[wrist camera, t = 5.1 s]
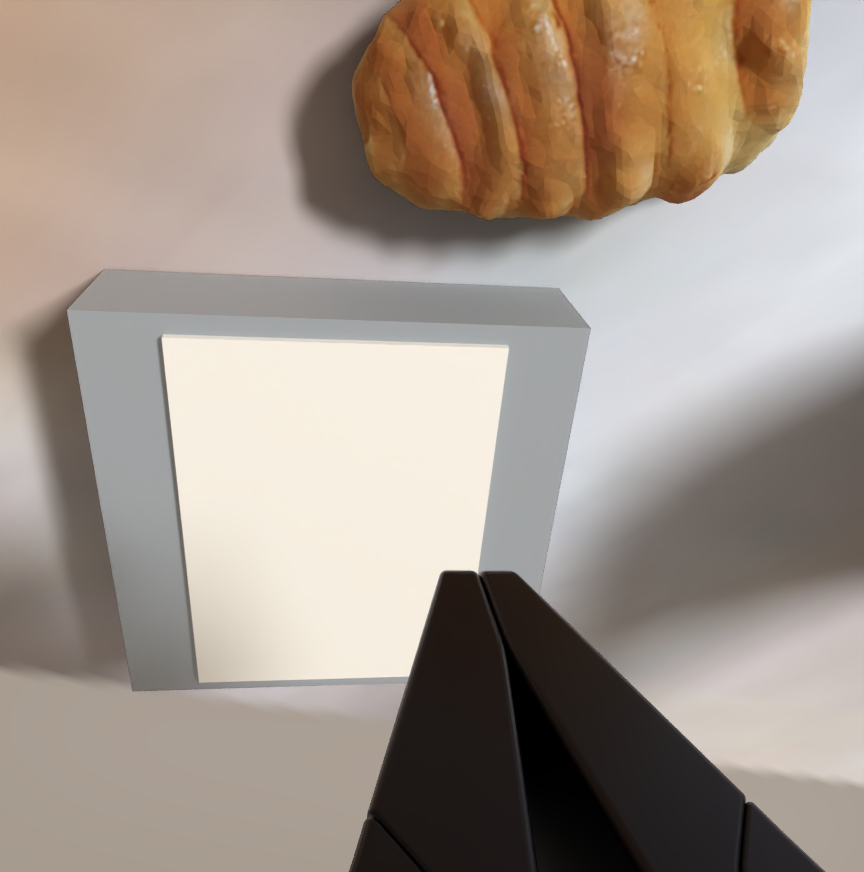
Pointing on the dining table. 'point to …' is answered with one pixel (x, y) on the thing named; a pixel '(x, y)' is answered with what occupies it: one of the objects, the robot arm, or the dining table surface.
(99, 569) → the dining table surface
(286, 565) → the plinth
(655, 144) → the pastry
